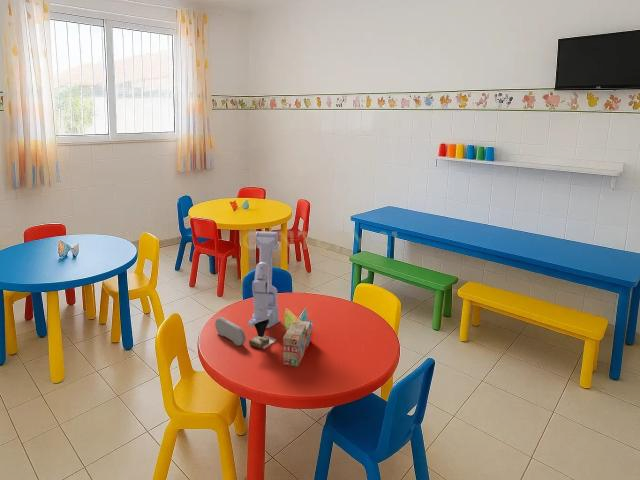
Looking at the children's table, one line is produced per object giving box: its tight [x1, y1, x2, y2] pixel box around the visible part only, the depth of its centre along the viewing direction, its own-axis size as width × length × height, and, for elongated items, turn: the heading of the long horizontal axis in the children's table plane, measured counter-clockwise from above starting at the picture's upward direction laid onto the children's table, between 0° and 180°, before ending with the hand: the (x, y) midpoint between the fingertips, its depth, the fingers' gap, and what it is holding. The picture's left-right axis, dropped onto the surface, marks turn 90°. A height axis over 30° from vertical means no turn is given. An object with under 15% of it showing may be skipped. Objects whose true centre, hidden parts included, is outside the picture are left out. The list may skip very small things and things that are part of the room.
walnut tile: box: [248, 334, 269, 349], centre depth 197 cm, size 2×6×6 cm
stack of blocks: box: [282, 320, 312, 367], centre depth 190 cm, size 21×6×12 cm, turn 168°
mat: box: [261, 334, 277, 349], centre depth 199 cm, size 8×8×1 cm
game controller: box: [214, 316, 247, 347], centre depth 200 cm, size 20×2×8 cm, turn 47°
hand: (260, 335), depth 197 cm, fingers closed
